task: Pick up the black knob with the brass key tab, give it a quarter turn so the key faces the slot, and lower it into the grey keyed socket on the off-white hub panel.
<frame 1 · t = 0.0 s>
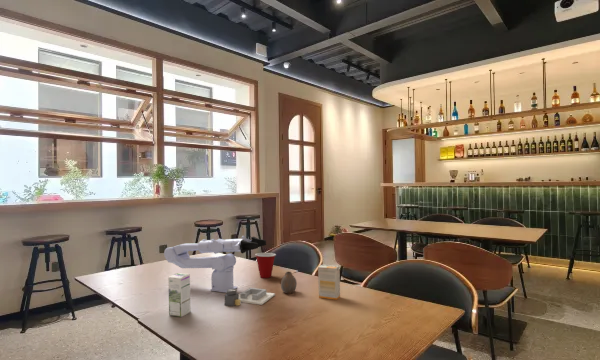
hand: (261, 244, 147), 22 cm above the table, tool horizontal, fingers open, 7 cm apart
knob: (231, 304, 135), on the table
supplement box: (329, 297, 141), on the table
plastic cup: (266, 277, 174), on the table
vase: (288, 292, 149), on the table
hub panel: (253, 298, 142), on the table
syrup box: (179, 314, 126), on the table
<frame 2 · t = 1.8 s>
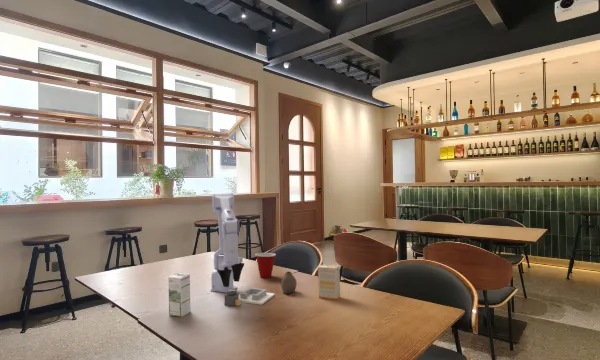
hand: (231, 283, 135), 8 cm above the table, tool pointing down, fingers open, 7 cm apart
nothing on the table moved.
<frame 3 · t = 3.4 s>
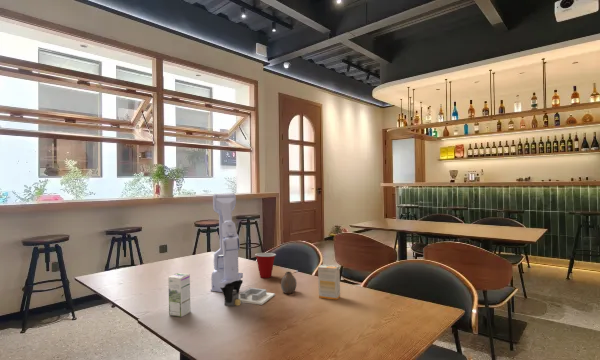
hand: (231, 300, 135), 1 cm above the table, tool pointing down, fingers closed on knob, 4 cm apart
knob: (231, 304, 135), on the table, touching gripper
everything else where it was.
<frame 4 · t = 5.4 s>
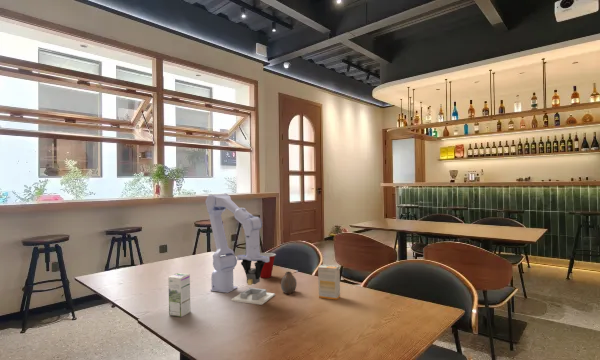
hand: (253, 278, 142), 8 cm above the table, tool pointing down, fingers closed on knob, 4 cm apart
knob: (253, 282, 142), point 7 cm above the table, touching gripper
everything else where it was.
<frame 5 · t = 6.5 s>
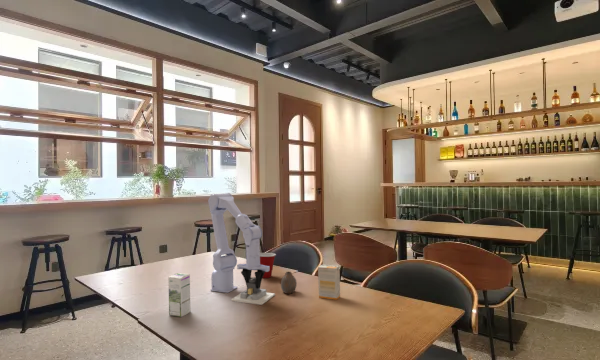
hand: (253, 287, 142), 5 cm above the table, tool pointing down, fingers closed on knob, 4 cm apart
knob: (253, 291, 142), point 3 cm above the table, touching gripper
everything else where it was.
when the fingers open (3 cm above the table, at t = 7.6 s): knob stays where it is, resting on hub panel.
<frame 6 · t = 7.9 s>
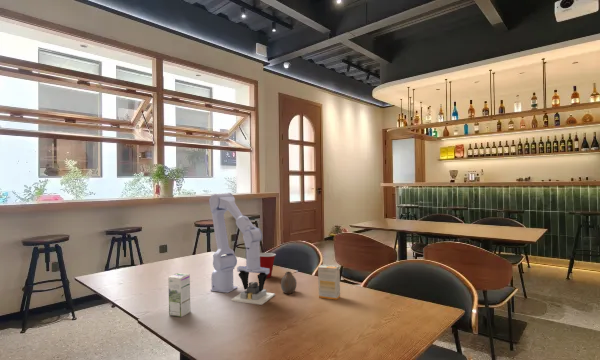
hand: (253, 289, 142), 4 cm above the table, tool pointing down, fingers open, 7 cm apart
knob: (253, 296, 142), point 1 cm above the table, touching hub panel
everything else where it was.
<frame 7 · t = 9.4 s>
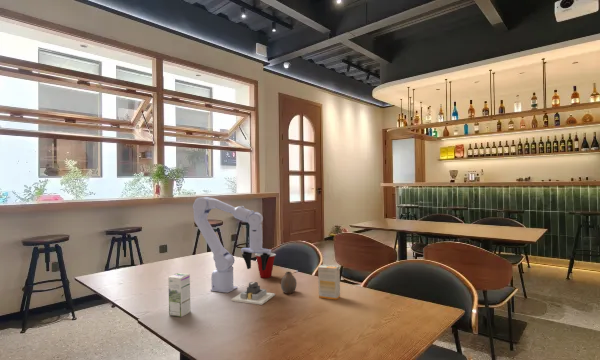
hand: (256, 269, 153), 9 cm above the table, tool pointing down, fingers open, 7 cm apart
nothing on the table moved.
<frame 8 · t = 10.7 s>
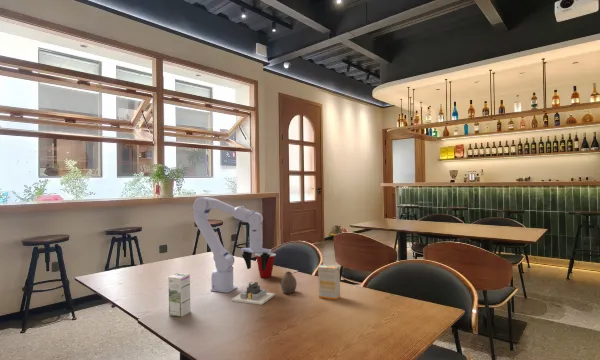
hand: (256, 269, 153), 9 cm above the table, tool pointing down, fingers open, 7 cm apart
nothing on the table moved.
at the end: knob 0.1 cm off-centre on the hub panel, point 0.8 cm above the hub panel's base; knob tilted 0°; the gripper is holding nothing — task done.
